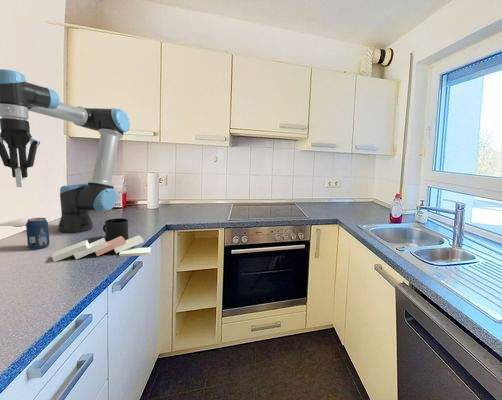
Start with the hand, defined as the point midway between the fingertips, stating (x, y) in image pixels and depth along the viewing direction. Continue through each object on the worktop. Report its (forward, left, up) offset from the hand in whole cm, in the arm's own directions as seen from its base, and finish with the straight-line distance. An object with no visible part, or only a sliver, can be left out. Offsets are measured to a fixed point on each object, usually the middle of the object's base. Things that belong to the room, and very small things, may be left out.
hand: (21, 186), depth 93 cm
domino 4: (+3, +29, -25) cm, 39 cm away
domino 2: (+5, +16, -25) cm, 31 cm away
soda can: (-10, 0, -27) cm, 28 cm away
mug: (-16, +27, -27) cm, 41 cm away
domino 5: (+5, +32, -26) cm, 42 cm away
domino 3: (+4, +23, -25) cm, 34 cm away
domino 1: (+5, +10, -25) cm, 28 cm away
